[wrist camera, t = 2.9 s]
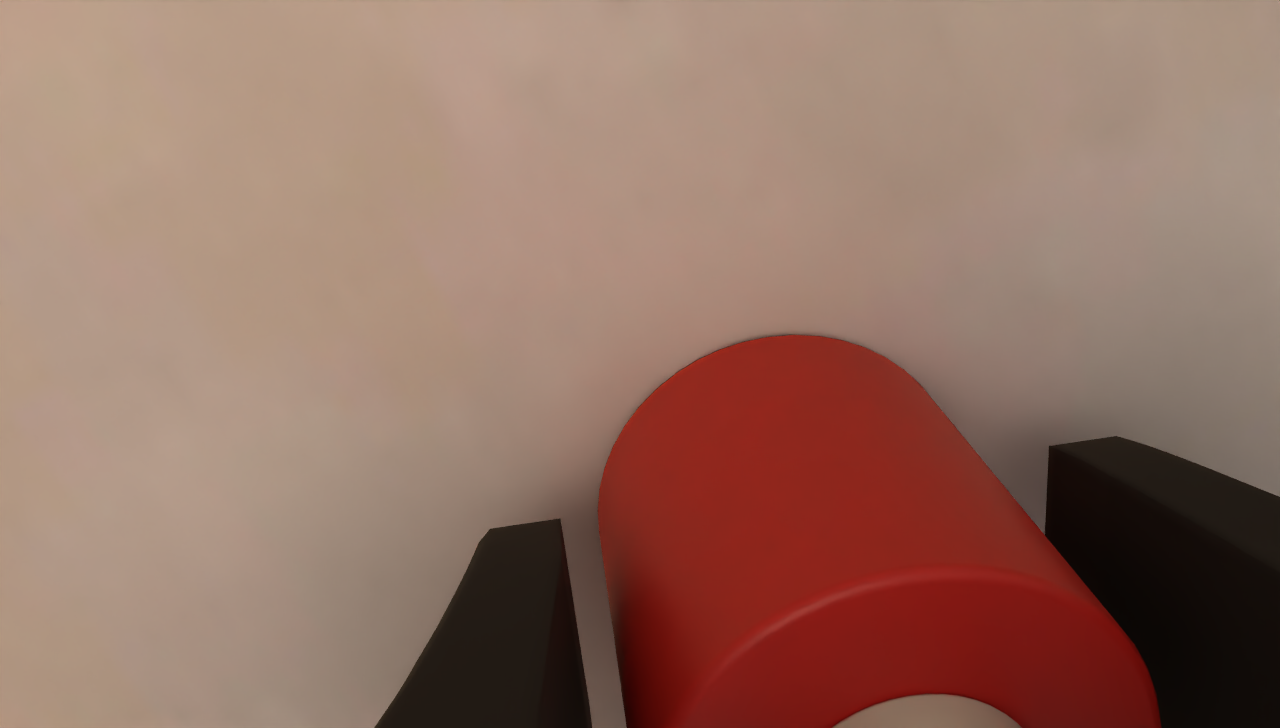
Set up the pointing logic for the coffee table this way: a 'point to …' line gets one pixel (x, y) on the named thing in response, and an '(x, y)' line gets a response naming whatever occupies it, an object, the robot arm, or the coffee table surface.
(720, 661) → the red cylinder
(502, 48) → the coffee table surface
